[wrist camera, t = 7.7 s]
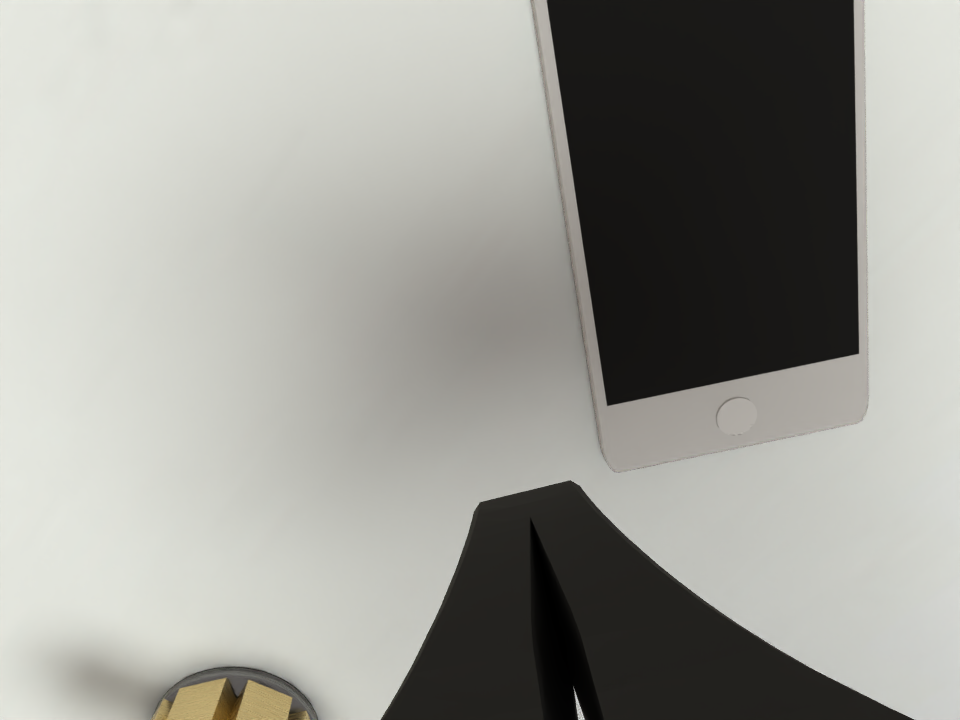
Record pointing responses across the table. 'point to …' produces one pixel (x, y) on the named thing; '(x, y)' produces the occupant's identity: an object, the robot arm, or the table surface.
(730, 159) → the smartphone
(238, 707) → the ring nut
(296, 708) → the base
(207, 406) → the table surface
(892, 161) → the table surface
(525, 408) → the table surface
